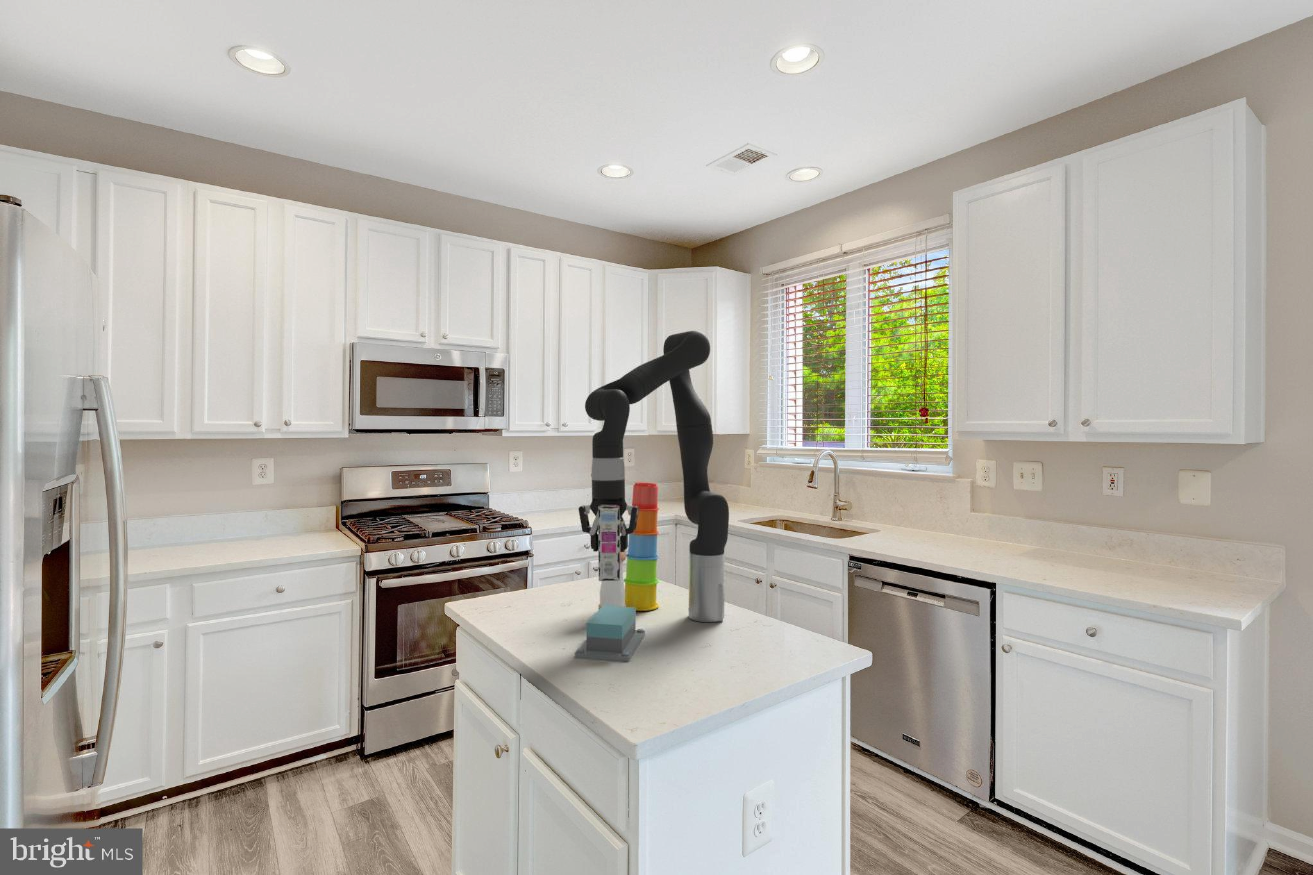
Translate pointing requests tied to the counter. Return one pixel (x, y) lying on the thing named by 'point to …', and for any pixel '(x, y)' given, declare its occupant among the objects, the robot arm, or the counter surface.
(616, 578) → the candy bar box
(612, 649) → the teal gray mounted block
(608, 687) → the counter surface
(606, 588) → the pepper shaker
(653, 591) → the stacking cups
